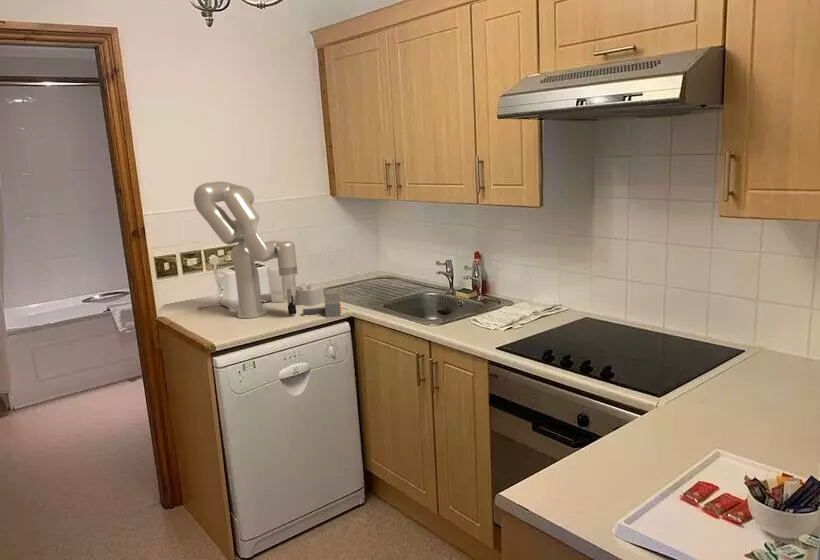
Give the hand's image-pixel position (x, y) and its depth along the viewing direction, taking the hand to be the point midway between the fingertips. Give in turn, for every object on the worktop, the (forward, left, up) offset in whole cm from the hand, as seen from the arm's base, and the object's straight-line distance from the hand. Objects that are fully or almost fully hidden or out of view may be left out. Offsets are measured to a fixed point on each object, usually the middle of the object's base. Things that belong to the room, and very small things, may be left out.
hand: (292, 313), depth 273 cm
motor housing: (+17, 0, -1) cm, 17 cm away
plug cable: (+12, 0, -1) cm, 13 cm away
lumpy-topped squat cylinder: (+6, +22, -1) cm, 23 cm away
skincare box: (-8, +32, -1) cm, 33 cm away
